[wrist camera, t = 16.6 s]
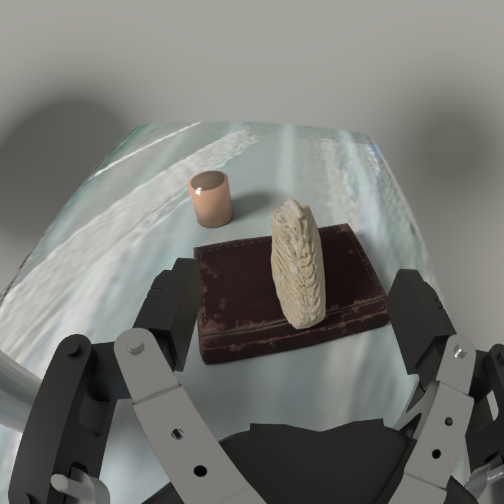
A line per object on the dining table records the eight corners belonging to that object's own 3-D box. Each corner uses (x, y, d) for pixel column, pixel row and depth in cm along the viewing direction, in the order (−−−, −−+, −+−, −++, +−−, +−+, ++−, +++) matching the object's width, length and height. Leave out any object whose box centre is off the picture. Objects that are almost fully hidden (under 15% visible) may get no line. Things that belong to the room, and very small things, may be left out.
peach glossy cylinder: (192, 227, 53) (182, 191, 47) (203, 204, 58) (195, 170, 52) (228, 229, 52) (221, 191, 46) (236, 205, 56) (231, 169, 50)
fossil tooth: (283, 337, 34) (266, 242, 43) (333, 327, 33) (307, 235, 43) (278, 290, 25) (256, 181, 34) (347, 277, 24) (307, 173, 34)
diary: (385, 330, 37) (396, 312, 33) (208, 369, 35) (199, 356, 32) (341, 238, 49) (345, 217, 45) (200, 264, 48) (193, 243, 44)
